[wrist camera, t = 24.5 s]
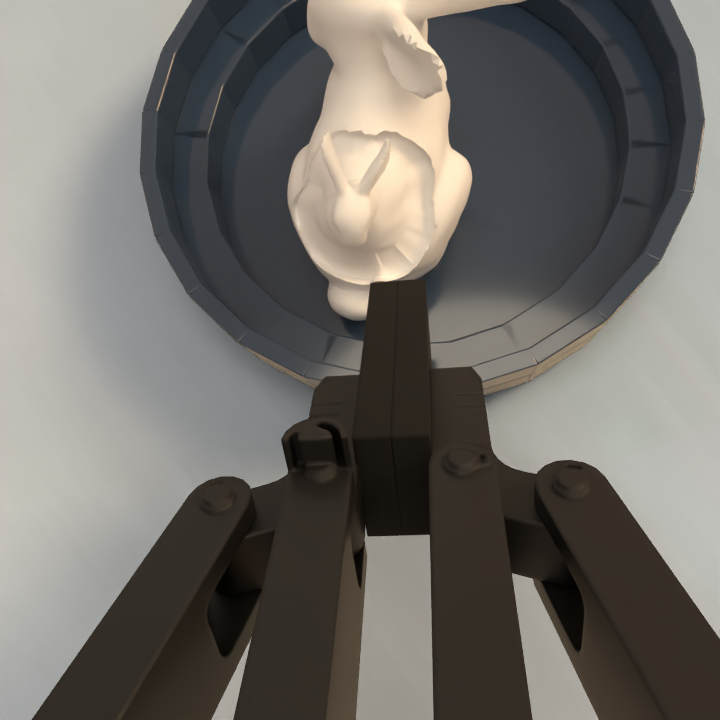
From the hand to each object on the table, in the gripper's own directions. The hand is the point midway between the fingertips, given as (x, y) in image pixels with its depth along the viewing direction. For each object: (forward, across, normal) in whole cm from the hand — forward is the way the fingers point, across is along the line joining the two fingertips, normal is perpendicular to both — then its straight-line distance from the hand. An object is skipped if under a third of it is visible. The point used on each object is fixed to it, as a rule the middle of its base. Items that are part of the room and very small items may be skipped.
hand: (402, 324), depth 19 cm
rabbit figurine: (+9, 0, +1) cm, 9 cm away
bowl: (+11, 0, +1) cm, 11 cm away
